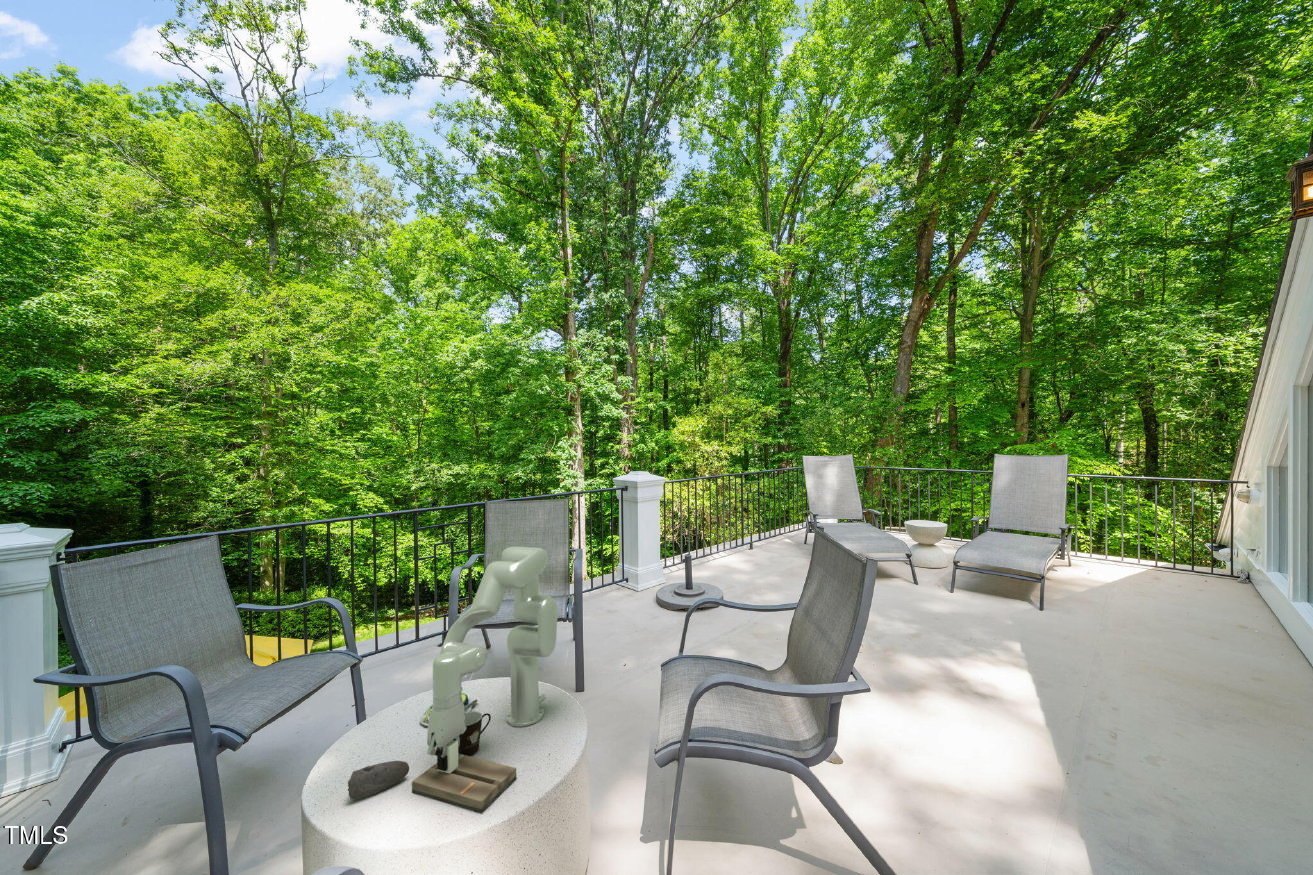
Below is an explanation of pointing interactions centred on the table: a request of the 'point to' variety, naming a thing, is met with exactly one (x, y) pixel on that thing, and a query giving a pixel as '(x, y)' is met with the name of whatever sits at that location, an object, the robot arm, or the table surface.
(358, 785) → the perforated stone tool
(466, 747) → the coffee mug
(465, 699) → the salad plate
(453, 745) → the fader
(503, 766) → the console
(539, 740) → the table surface
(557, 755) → the table surface
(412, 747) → the table surface
